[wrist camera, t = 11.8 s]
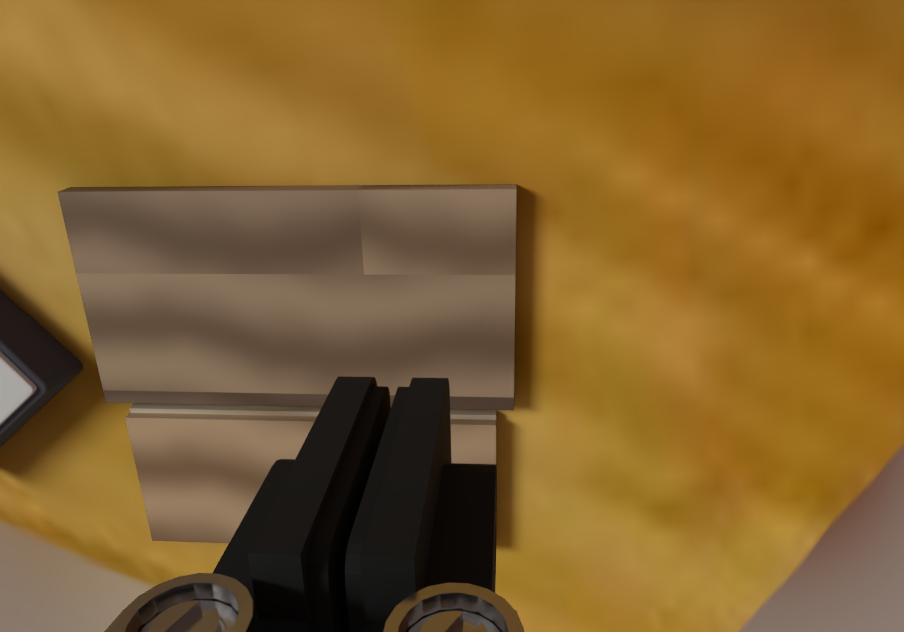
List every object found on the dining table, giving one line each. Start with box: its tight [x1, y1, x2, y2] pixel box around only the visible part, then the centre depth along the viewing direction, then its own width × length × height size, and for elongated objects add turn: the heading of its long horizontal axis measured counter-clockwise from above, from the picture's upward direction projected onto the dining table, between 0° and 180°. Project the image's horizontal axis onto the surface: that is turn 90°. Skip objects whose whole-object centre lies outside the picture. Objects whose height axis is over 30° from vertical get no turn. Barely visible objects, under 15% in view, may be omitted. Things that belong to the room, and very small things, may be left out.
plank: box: [125, 403, 496, 543], centre depth 43 cm, size 9×22×1 cm, turn 91°
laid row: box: [58, 184, 517, 410], centre depth 39 cm, size 12×24×1 cm, turn 91°
